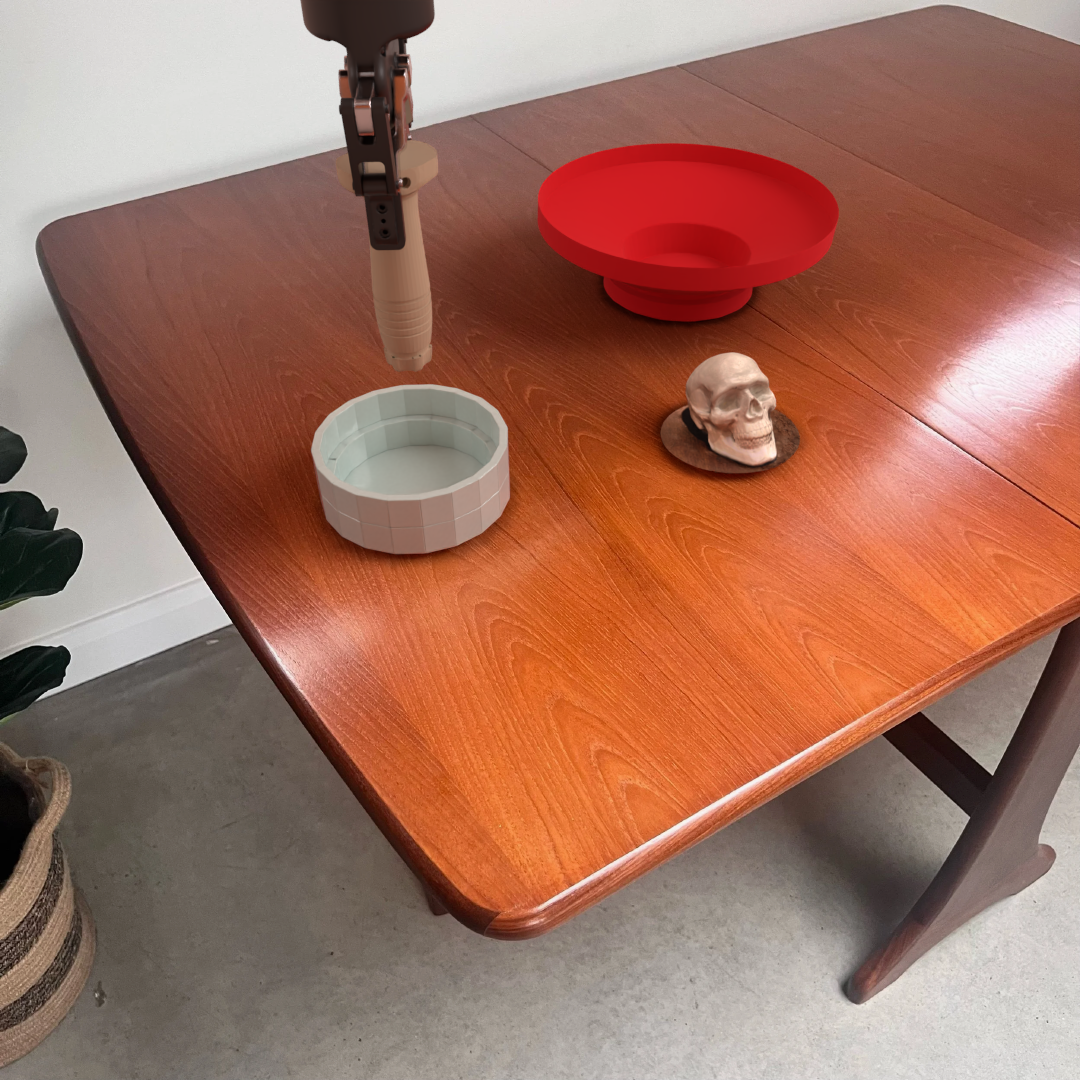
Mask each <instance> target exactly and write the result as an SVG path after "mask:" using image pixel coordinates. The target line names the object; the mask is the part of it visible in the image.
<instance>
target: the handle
mask: <svg viewBox="0 0 1080 1080" xmlns="http://www.w3.org/2000/svg"><path fill="white" fill-rule="evenodd" d="M438 159H439V158H438V150H437V149H436V148H435V147H434V146H432V145H430V144H429V143H426V142H424V141H419V140H415V139H412V140H407V148H406V149H405V150H404V151H403V152H402V153H401V154H400V169H401V178H402V179H403V187H401V195H402V204H403V214H404V223H405V232H406V242H405V246H404V248H403V249H401V250H375V249H373V248H372V246H371V244H370V237H369V236H368V242H369V243H368V244H369V258H370V259H369V260H370V276H371V290H372V291H371V292H372V299H373V309H374V314H375V318H376V324H377V327H378V328H377V329H378V332H379V335H380V338H381V341H382V344H383V346H384V347H383V353H384V357H385V360H386V363H387V364H388V365H390V366H392V368H393V370H394V371H395V372H399V373H401V372H414V373H416V372H421V370H423V369H424V366H425V365H427V364H428V363H430V362H431V361H432V358H433V357H432V356H433V344H431V341H432V335H433V334H432V333H433V303H432V302H433V301H432V291H431V283H430V277H429V276H430V275H429V270H428V264H427V259H426V251H425V246H424V245H425V244H424V240H423V231H422V225H421V217H420V212H419V211H420V210H419V191H420V189H421V188H423V187H424V186H425V185H426V184H428V183H429V182H430V181H431V180H433V179H434V178H435V177H436V176H438V174H439V160H438ZM335 169H336V174H337V175H336V176H337V180H338V182H339V184H340V185H341V186H342V188H344V189H345V190H347V191H348V192H349V193H351V194H354V195H355V191H354V190H353V188H352V181H353V180H352V174H351V168H350V162H349V156H348V152H346V153H344V154H342V155H340V156H338V157H336V159H335ZM368 172H369V173H385V167H384V164H383V163H381V162H368ZM361 197H362V198H363V200H364V201H365V199H364V196H361ZM367 231H368V233H369V230H367Z"/></svg>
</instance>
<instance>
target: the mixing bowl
mask: <svg viewBox="0 0 1080 1080" xmlns="http://www.w3.org/2000/svg"><path fill="white" fill-rule="evenodd" d="M310 453H311V458H312V462H313V468H314V473H315V477H316V483H317V488H318V493H319V498H320V503H321V506H322V510H323V513H324V516H325V520H326V521H327V522H328V524H330V526H331V527H332V528H333V529H334V530H335V531H336V532H337V533H338V534H339V536H341V537H342V538H344V539H346V540H348V541H349V542H352V543H354V544H356V545H358V546H360V547H362V548H364V549H366V550H372V551H377V552H382V553H387V554H394V555H413V554H417V555H418V554H429V553H433V552H434V553H435V552H438V551H441V550H446V549H450V548H454V547H457V546H459V545H462V544H463V543H466V542H468V541H469V540H472V539H474V538H475V537H478V536H479V535H481V534H483V533H484V532H485V531H486V530H487V529H488V528H489V527H490V526H492V525H493V524H494V523H495V522H496V521H497V520H499V518H501V516H502V515H503V512H504V511H505V508H506V507H507V504H508V502H509V501H510V499H511V474H510V473H511V470H510V451H509V427H508V425H507V423H506V421H505V420H504V418H503V416H502V415H501V413H500V411H499V410H498V409H497V408H496V407H495V406H493V405H492V404H491V403H489V402H488V401H487V400H486V399H484V398H483V397H480V396H478V395H476V394H473V393H471V392H468V391H465V390H463V389H461V388H457V387H454V386H453V387H451V386H446V385H439V384H435V383H434V384H433V383H428V384H400V385H395V386H389V387H385V388H380V389H374V390H372V391H369V392H366V393H364V394H362V395H359V396H357V397H355V398H351V399H349V400H347V401H346V402H345V403H343V404H342V405H341V406H338V408H336V409H335V410H333V411H331V412H330V413H329V414H328V415H327V416H326V417H325V419H324V420H323V421H322V422H321V424H320V425H319V426H318V427H317V429H316V430H315V432H314V436H313V440H312V443H311V447H310Z"/></svg>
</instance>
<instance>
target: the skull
mask: <svg viewBox="0 0 1080 1080" xmlns="http://www.w3.org/2000/svg"><path fill="white" fill-rule="evenodd" d="M685 396H686V400H687V405H683V406H682V407H679V408H678V409H676V410H675V411H673V412H672V413H670V414H669V415H668V416H667V417H666V419H664V421H663V422H662V424H661V428H660V438H661V442H662V444H663V446H664V447H665V448H666V449H667V450H668V452H669V453H671V454H672V455H673V456H674V457H675V458H677V459H679V461H680V460H681V462H684V463H686V464H687V465H691V466H693V467H695V468H698V469H701V470H706V471H710V472H712V471H713V472H715V474H717V473H723V474H749V473H756V472H757V473H758V472H763V471H769V470H771V469H775V468H777V467H779V466H781V465H782V464H784V463H786V462H787V461H788V460H790V459H791V457H793V456H794V455H795V454H796V452H797V451H798V449H799V446H800V443H801V436H800V435H801V434H800V432H799V429H798V427H797V425H796V424H795V423H794V422H793V421H792V419H791V418H789V417H788V416H787V415H786V414H784V413H783V412H781V411H780V410H777V409H776V407H777V399H776V397H775V393H774V392H773V391H772V390H771V388H770V380H769V378H768V376H767V375H765V373H763V371H762V370H761V368H760V367H759V365H758V362H756V361H755V359H753V358H752V357H750V356H748V355H745V354H743V353H740V352H734V351H733V352H732V351H731V352H724V353H719V354H716V355H713V356H711V357H709V358H707V359H704V360H703V361H702V362H701V363H699V365H698V366H696V367H695V369H694V370H693V371H692V373H691V374H690V375H689V377H688V378H687V381H686V383H685Z"/></svg>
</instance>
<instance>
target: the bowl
mask: <svg viewBox="0 0 1080 1080" xmlns="http://www.w3.org/2000/svg"><path fill="white" fill-rule="evenodd" d="M839 208H840V207H839V204H838V201H837V200H836V198H835V196H834V194H833V192H832V191H831V190H830V189H829V187H827V186H826V185H825V184H824V183H822V182H821V181H820V180H819V179H817V178H816V177H815V176H813V175H811V174H810V173H808V172H806V171H804V170H803V169H801V168H798V167H796V166H794V165H792V164H789V163H787V162H785V161H782V160H779V159H776V158H773V157H771V156H767V155H764V154H760V153H756V152H752V151H747V150H744V149H739V148H733V147H726V146H719V145H713V144H712V145H711V144H699V143H681V142H680V143H679V142H665V143H664V142H662V143H644V144H643V143H642V144H633V145H626V146H619V147H613V148H608V149H603V150H599V151H596V152H592V153H589V154H586V155H583V156H580V157H578V158H576V159H573V160H571V161H568V162H566V163H565V164H562V166H560V167H558V168H557V169H555V170H554V171H552V172H551V173H550V174H549V175H548V176H547V177H546V178H545V179H544V181H543V182H542V183H541V185H540V187H539V189H538V194H537V227H538V230H539V233H540V235H541V236H542V238H543V240H544V241H545V243H546V244H547V245H548V246H549V247H550V248H551V249H552V250H553V251H554V252H555V253H556V254H558V255H559V256H560V257H562V258H563V259H565V260H566V261H567V262H569V263H571V264H574V265H575V266H577V267H579V268H581V269H583V270H585V271H587V272H590V273H592V274H594V275H595V274H596V275H597V276H601V277H603V288H604V290H605V292H606V294H607V295H608V296H609V298H610V299H611V300H612V301H613V302H614V303H616V304H618V305H619V306H621V307H623V308H624V309H626V310H627V311H630V312H632V313H634V314H637V315H641V316H643V317H647V318H651V319H656V320H661V321H670V322H684V323H686V322H688V323H689V322H690V323H691V322H700V321H708V320H713V319H720V318H722V317H725V316H727V315H730V314H733V313H734V312H737V311H739V310H740V309H742V308H743V307H744V306H745V305H746V304H747V303H748V302H749V300H750V299H751V298H752V294H753V289H754V288H757V287H762V286H767V285H770V284H774V283H778V282H781V281H784V280H787V279H790V278H792V277H795V276H798V275H799V274H801V273H803V272H805V271H807V270H809V269H810V268H812V267H814V266H815V265H817V263H819V262H820V261H821V260H822V259H823V258H824V257H825V255H826V254H827V253H828V252H829V250H830V248H831V246H832V244H833V241H834V237H835V233H836V229H837V226H838V222H839V218H840V209H839Z"/></svg>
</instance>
